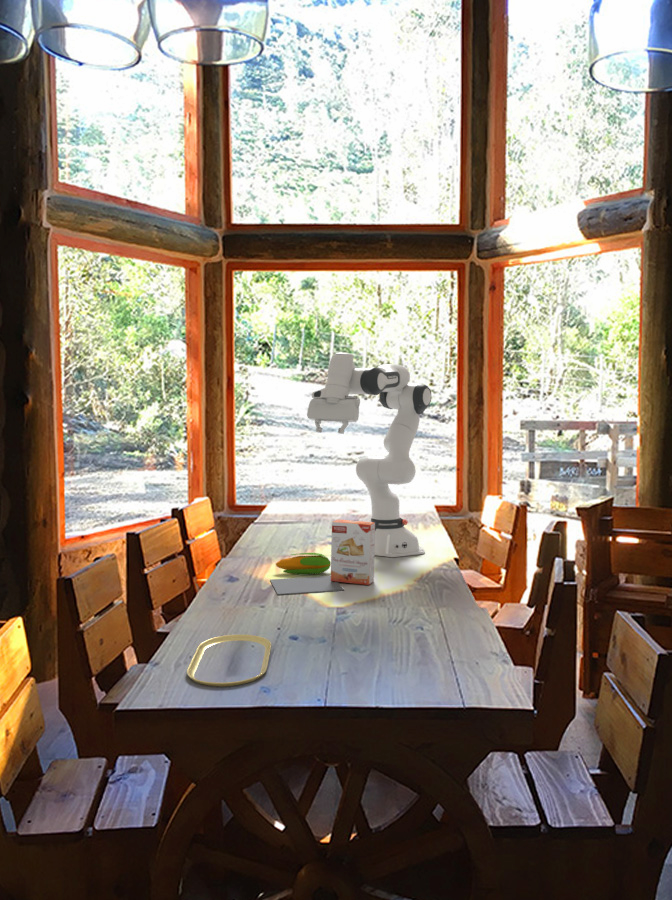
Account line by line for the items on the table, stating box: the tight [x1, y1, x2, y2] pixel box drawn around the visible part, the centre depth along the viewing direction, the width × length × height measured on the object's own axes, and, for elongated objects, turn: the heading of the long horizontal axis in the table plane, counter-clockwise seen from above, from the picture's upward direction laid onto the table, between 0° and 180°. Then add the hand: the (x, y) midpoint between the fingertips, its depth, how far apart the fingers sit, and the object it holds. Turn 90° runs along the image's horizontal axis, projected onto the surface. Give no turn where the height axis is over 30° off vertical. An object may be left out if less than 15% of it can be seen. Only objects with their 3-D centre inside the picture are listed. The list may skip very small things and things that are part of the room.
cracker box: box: [330, 519, 375, 586], centre depth 272 cm, size 14×6×21 cm, turn 71°
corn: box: [275, 552, 331, 575], centre depth 287 cm, size 7×8×20 cm
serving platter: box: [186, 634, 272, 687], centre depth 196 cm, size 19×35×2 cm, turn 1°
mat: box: [269, 575, 345, 596], centre depth 270 cm, size 22×20×1 cm
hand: (329, 432), depth 285 cm, fingers open, 8 cm apart
